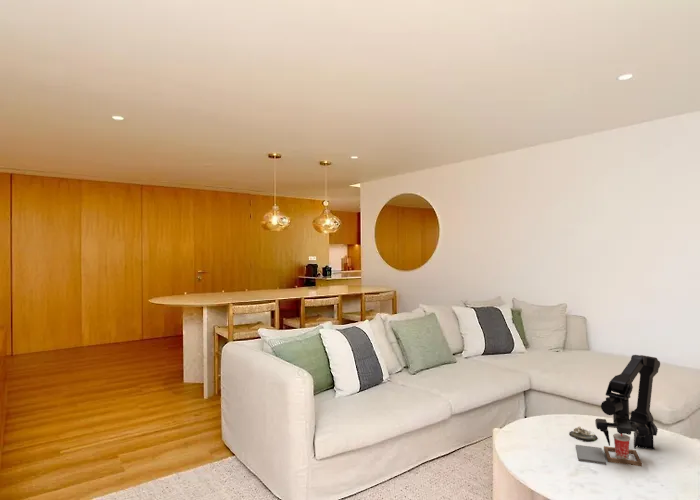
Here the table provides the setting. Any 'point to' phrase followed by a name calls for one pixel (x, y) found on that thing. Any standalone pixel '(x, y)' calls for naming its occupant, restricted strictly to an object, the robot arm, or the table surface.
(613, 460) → the socket collar
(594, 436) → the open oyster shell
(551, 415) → the table surface
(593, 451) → the rubber mat
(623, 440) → the beverage cup
